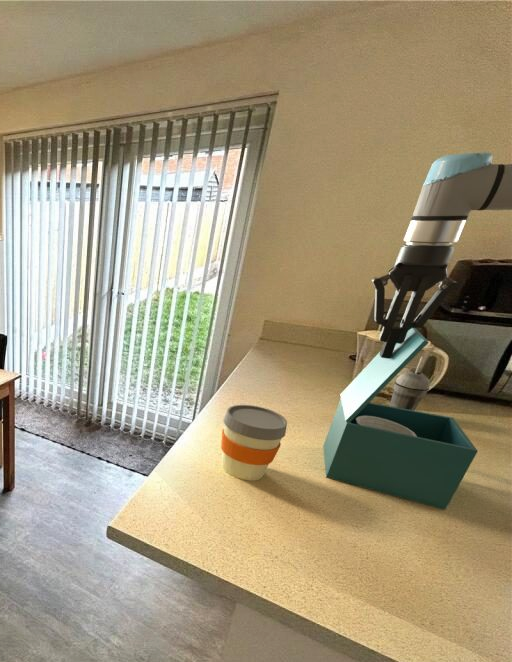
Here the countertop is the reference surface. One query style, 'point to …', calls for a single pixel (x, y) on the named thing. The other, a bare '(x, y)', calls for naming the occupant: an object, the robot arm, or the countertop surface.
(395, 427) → the plastic cup
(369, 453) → the lidded box
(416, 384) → the beverage cup
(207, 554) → the countertop surface
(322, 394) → the countertop surface
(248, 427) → the reusable coffee cup
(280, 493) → the countertop surface
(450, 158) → the robot arm
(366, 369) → the lid
